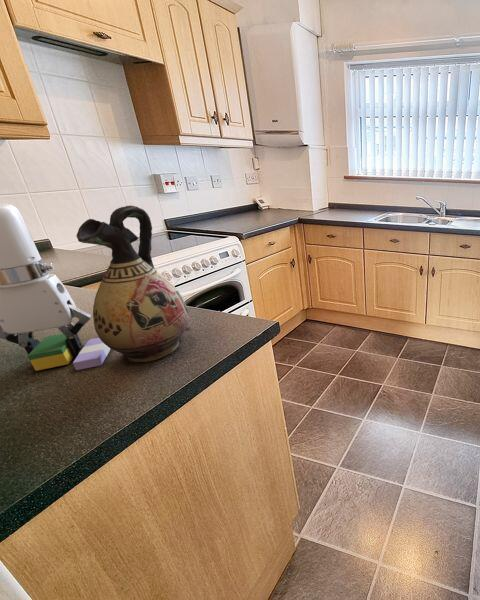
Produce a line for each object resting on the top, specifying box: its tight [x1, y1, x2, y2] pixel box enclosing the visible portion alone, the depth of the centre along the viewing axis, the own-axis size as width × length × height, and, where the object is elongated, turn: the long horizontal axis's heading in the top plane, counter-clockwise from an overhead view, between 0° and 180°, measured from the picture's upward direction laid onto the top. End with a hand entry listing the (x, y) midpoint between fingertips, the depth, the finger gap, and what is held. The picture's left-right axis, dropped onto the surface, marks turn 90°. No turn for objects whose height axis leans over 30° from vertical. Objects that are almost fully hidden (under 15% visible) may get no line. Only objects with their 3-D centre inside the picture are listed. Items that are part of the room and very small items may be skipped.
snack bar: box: [72, 337, 112, 371], centre depth 70 cm, size 10×4×2 cm, turn 26°
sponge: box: [27, 333, 75, 372], centre depth 69 cm, size 8×5×4 cm, turn 26°
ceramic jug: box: [76, 205, 190, 363], centre depth 67 cm, size 17×15×30 cm
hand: (59, 355), depth 69 cm, fingers closed on sponge, 5 cm apart
